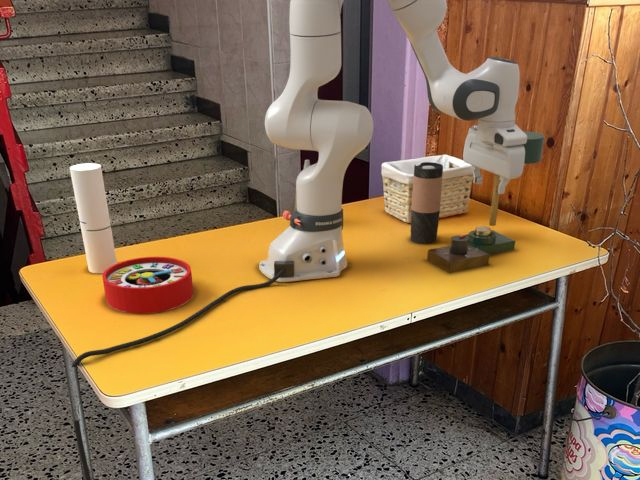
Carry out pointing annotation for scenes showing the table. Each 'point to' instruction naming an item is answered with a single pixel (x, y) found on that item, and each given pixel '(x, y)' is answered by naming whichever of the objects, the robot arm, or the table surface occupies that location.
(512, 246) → the lamp base
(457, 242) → the dimmer knob
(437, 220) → the travel mug
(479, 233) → the power button
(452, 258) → the dimmer
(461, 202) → the basket
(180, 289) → the toy clock
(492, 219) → the desk lamp
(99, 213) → the cylindrical container
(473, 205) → the table surface
